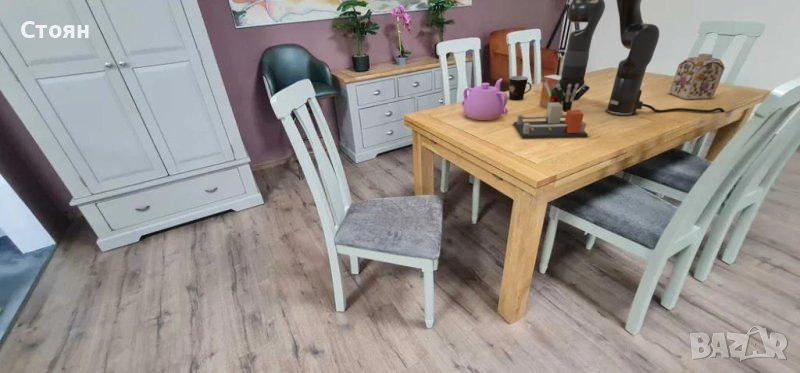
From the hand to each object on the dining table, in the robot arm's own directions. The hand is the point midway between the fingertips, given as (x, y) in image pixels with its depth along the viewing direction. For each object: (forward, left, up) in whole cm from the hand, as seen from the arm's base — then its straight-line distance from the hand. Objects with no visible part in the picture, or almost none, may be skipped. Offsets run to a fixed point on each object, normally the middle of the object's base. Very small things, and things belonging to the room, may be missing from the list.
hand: (565, 111), depth 126 cm
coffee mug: (+9, -38, -6) cm, 40 cm away
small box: (-3, -25, -6) cm, 26 cm away
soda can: (-1, -14, -6) cm, 15 cm away
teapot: (+27, -16, -6) cm, 32 cm away
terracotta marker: (+1, +10, -4) cm, 11 cm away
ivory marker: (+4, 0, -4) cm, 6 cm away
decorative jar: (-67, -35, -6) cm, 76 cm away
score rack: (+7, +5, -6) cm, 10 cm away
